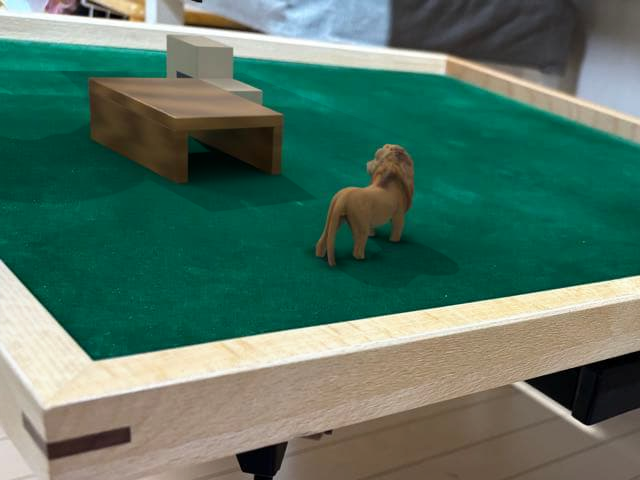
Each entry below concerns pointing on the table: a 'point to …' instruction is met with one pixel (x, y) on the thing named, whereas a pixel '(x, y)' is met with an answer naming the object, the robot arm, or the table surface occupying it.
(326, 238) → the lion figurine
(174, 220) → the table surface
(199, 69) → the grey stepped block
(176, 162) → the low wooden table
